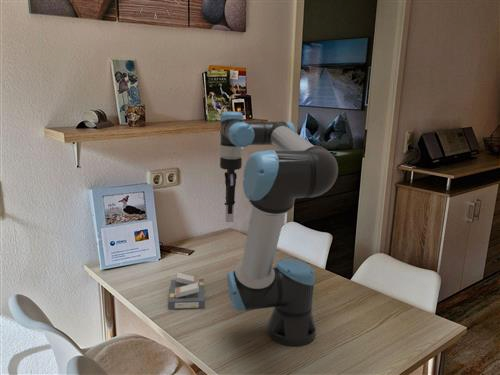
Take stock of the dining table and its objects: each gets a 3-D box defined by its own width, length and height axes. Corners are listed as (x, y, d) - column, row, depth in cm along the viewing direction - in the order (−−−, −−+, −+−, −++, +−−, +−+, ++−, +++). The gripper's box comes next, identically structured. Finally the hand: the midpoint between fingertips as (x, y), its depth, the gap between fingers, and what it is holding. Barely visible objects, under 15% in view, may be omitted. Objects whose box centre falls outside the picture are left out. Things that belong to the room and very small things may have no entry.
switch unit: (204, 308, 151) (204, 298, 150) (168, 310, 149) (168, 299, 148) (203, 286, 166) (203, 276, 165) (171, 287, 165) (171, 277, 164)
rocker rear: (197, 286, 160) (198, 282, 159) (175, 281, 158) (177, 277, 158) (197, 281, 163) (198, 277, 163) (176, 276, 162) (177, 272, 162)
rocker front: (198, 291, 151) (197, 287, 151) (176, 297, 151) (174, 293, 151) (198, 286, 155) (197, 281, 155) (176, 292, 155) (175, 287, 154)
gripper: (243, 160, 147) (241, 227, 154) (239, 153, 160) (238, 215, 166) (221, 160, 146) (220, 227, 153) (219, 153, 159) (218, 215, 165)
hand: (229, 221), depth 159 cm, fingers closed
